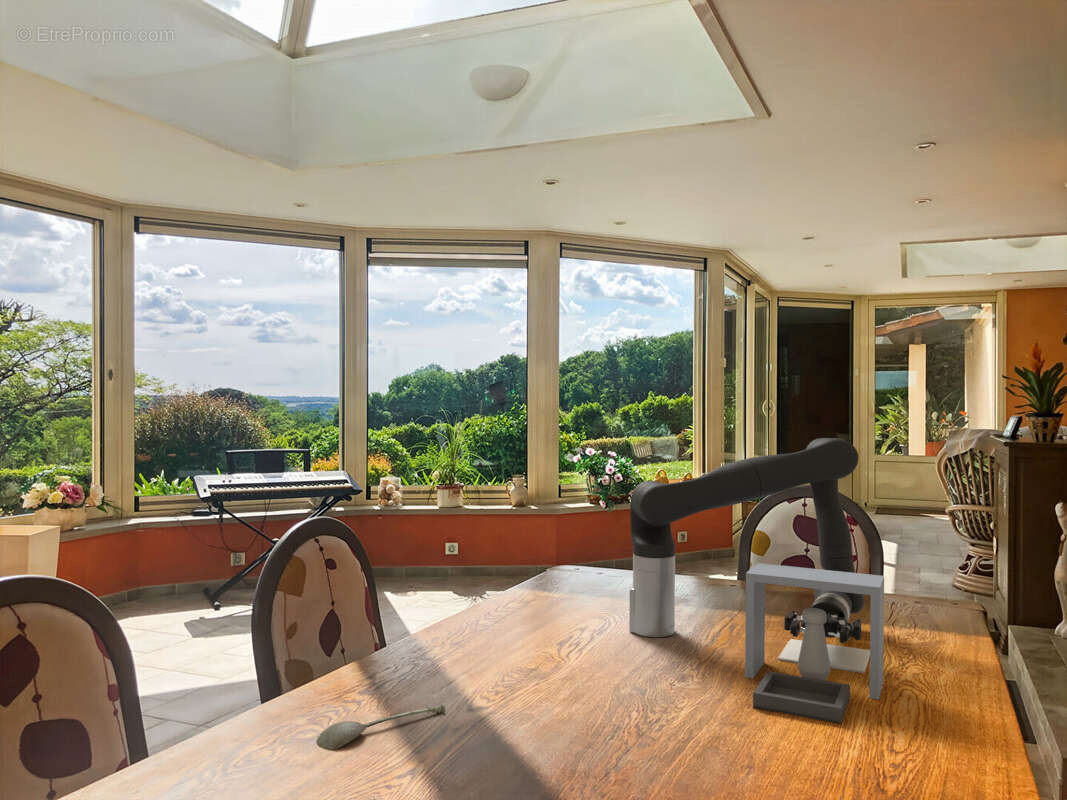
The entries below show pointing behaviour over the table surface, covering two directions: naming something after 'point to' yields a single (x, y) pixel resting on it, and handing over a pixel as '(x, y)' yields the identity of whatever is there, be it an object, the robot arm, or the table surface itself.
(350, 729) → the soupspoon
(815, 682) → the pit box
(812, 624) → the salt shaker
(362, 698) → the table surface
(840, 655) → the pad
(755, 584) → the gate
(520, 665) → the table surface
